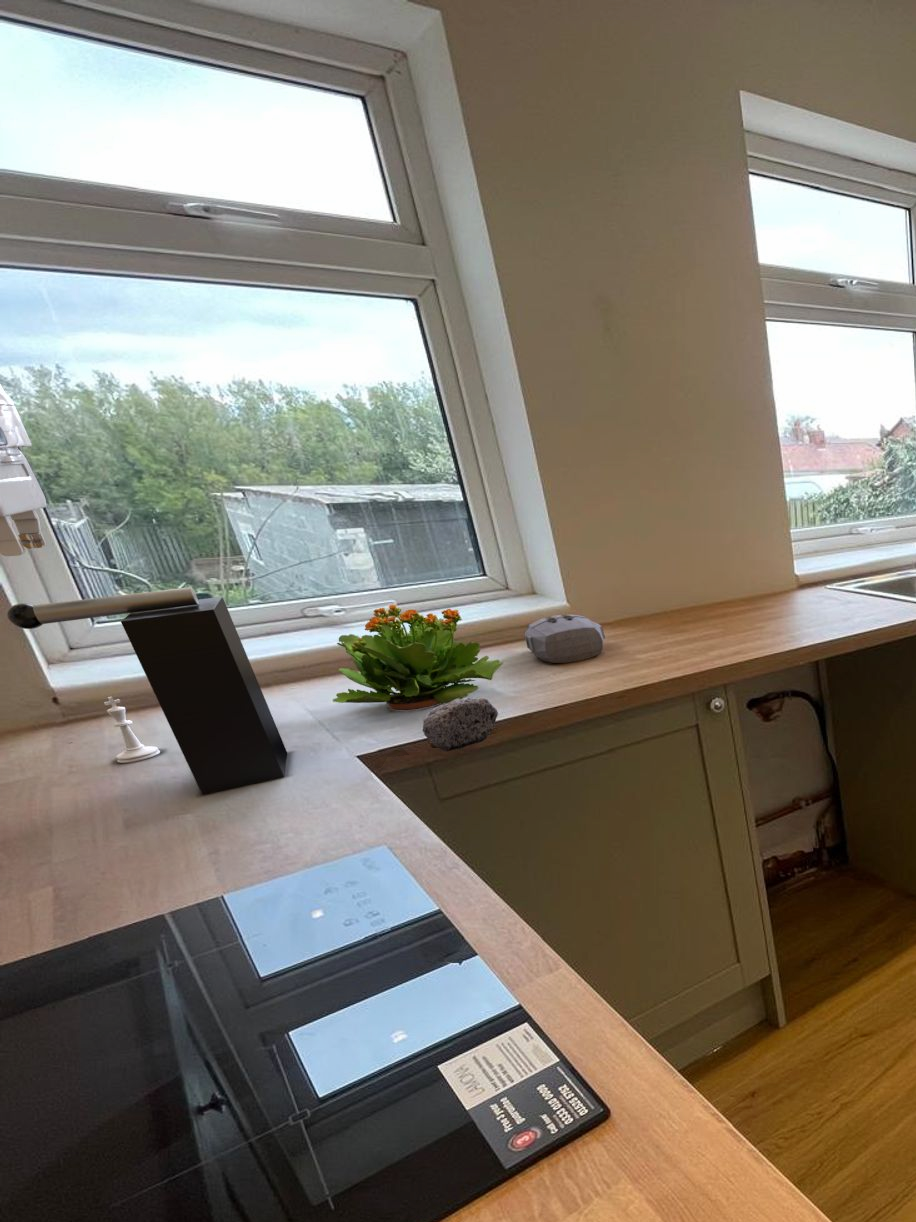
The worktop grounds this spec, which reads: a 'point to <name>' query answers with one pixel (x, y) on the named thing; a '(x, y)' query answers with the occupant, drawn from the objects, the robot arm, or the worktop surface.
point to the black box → (208, 694)
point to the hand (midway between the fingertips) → (25, 551)
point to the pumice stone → (460, 723)
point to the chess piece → (129, 736)
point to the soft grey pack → (565, 638)
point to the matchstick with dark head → (99, 607)
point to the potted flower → (412, 661)
